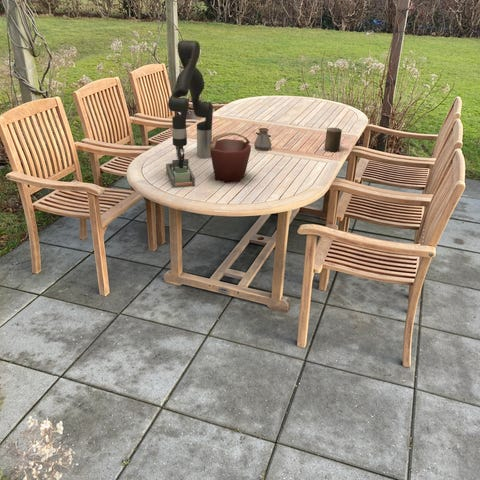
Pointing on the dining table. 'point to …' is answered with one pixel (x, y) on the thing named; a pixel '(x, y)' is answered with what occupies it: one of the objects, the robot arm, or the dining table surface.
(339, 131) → the pillar candle
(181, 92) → the robot arm
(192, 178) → the bay
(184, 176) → the box
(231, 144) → the bucket
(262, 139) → the coffee pot
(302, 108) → the dining table surface
